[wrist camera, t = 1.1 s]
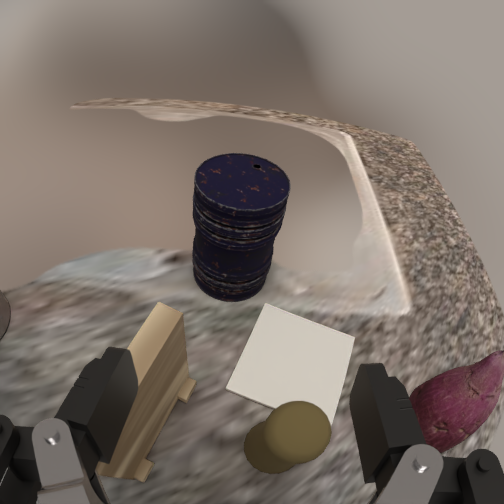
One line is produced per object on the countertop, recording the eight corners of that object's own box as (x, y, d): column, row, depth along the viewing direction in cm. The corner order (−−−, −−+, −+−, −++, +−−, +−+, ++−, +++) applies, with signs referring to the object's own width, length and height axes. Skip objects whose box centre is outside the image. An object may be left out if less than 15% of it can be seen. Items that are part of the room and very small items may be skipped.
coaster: (225, 389, 32) (225, 388, 32) (264, 305, 40) (265, 303, 39) (329, 428, 30) (330, 426, 30) (353, 339, 38) (354, 337, 38)
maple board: (108, 464, 24) (49, 445, 14) (164, 366, 33) (147, 296, 22) (143, 484, 24) (101, 482, 13) (197, 382, 32) (195, 318, 22)
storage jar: (242, 316, 38) (261, 226, 27) (177, 277, 41) (172, 183, 30) (279, 264, 45) (306, 175, 34) (220, 233, 47) (229, 143, 36)
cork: (248, 416, 30) (267, 385, 22) (304, 423, 30) (344, 394, 22) (239, 469, 26) (256, 463, 18) (299, 476, 26) (340, 469, 18)
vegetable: (399, 386, 37) (451, 302, 30) (460, 398, 35) (518, 321, 27) (393, 452, 29) (464, 375, 21) (462, 461, 26) (540, 389, 18)
